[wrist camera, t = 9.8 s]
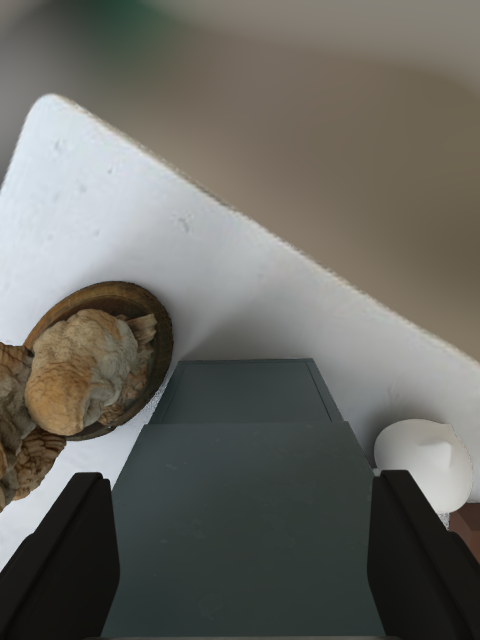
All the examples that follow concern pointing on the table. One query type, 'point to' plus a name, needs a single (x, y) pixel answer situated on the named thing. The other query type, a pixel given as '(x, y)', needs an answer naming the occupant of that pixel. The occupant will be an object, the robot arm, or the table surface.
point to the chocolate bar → (467, 526)
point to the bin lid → (244, 534)
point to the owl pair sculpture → (78, 377)
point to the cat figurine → (428, 460)
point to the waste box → (246, 393)
